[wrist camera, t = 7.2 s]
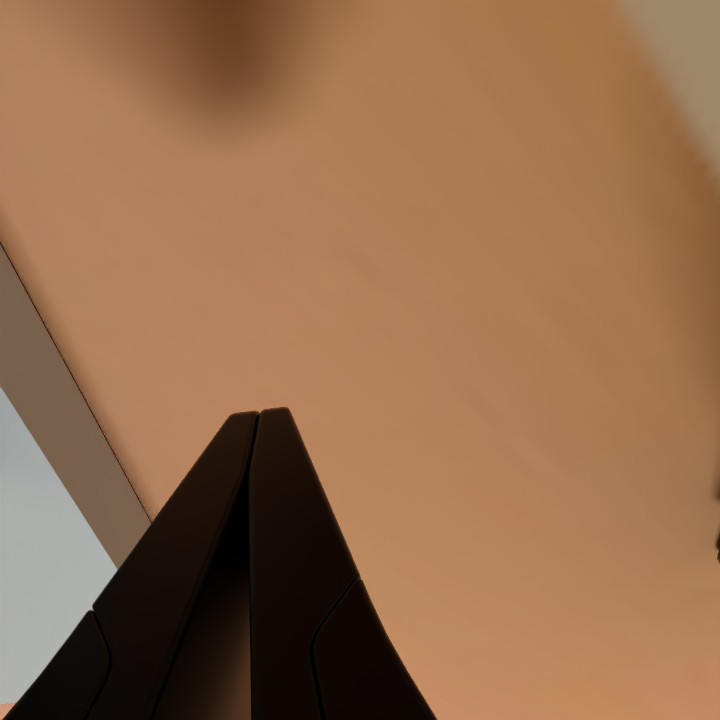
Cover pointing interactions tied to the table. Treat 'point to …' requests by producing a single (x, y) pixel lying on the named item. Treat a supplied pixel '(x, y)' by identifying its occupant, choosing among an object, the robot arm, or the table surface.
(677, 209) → the table surface
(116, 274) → the table surface
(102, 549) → the tray
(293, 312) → the table surface
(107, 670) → the robot arm
